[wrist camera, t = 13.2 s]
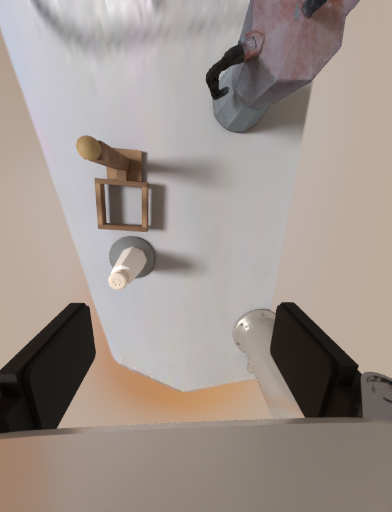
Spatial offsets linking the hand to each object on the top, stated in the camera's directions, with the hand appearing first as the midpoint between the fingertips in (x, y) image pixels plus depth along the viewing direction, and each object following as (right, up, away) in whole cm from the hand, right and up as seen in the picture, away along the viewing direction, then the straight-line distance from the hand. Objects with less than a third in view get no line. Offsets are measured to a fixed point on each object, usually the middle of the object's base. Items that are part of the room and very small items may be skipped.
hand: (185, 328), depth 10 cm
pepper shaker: (-12, +3, +31) cm, 34 cm away
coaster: (-13, +3, +31) cm, 34 cm away
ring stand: (-13, +16, +27) cm, 34 cm away
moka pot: (+8, +30, +25) cm, 39 cm away
